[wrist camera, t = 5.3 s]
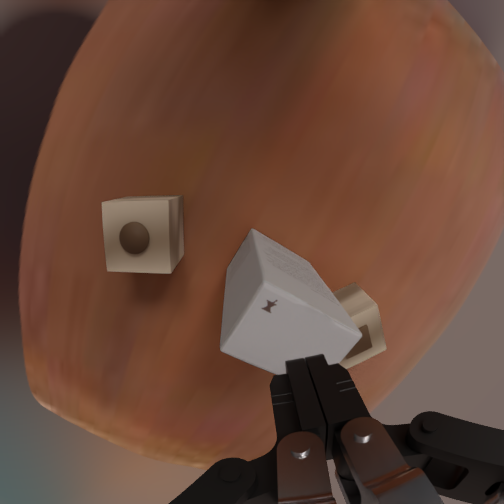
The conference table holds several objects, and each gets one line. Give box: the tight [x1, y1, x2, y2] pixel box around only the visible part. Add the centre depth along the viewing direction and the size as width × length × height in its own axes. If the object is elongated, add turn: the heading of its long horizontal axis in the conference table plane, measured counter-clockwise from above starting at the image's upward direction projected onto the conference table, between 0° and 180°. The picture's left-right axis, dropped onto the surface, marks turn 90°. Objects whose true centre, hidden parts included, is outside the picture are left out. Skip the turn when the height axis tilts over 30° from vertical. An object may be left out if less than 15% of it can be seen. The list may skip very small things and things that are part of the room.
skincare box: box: [220, 228, 362, 375], centre depth 18 cm, size 6×4×12 cm
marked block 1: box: [102, 195, 184, 274], centre depth 20 cm, size 5×5×5 cm
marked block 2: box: [333, 282, 386, 369], centre depth 23 cm, size 5×5×5 cm
